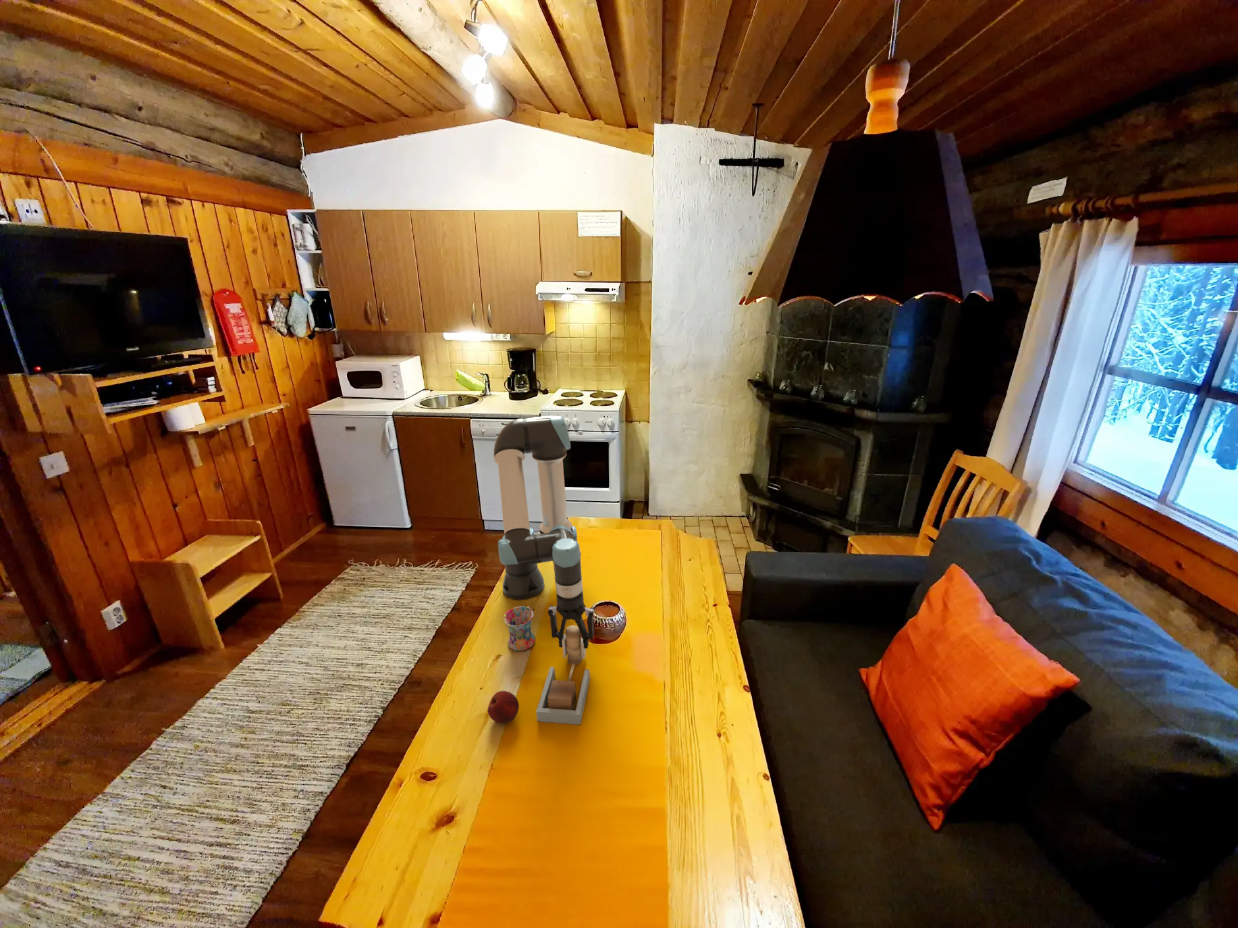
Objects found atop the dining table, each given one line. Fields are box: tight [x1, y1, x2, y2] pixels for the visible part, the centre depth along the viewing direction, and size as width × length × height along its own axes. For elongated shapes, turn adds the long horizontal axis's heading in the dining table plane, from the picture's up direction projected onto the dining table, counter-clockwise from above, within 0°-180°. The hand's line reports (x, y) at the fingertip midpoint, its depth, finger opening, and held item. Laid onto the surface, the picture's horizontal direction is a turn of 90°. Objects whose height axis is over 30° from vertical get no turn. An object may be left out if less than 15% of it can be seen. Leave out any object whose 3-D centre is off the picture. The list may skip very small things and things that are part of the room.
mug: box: [502, 605, 536, 652], centre depth 153 cm, size 12×9×11 cm
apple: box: [487, 690, 520, 725], centre depth 127 cm, size 7×8×8 cm
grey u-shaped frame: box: [535, 666, 591, 725], centre depth 132 cm, size 15×11×4 cm
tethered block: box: [547, 624, 583, 710], centre depth 136 cm, size 22×6×11 cm, turn 174°
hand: (574, 654), depth 146 cm, fingers open, 5 cm apart
